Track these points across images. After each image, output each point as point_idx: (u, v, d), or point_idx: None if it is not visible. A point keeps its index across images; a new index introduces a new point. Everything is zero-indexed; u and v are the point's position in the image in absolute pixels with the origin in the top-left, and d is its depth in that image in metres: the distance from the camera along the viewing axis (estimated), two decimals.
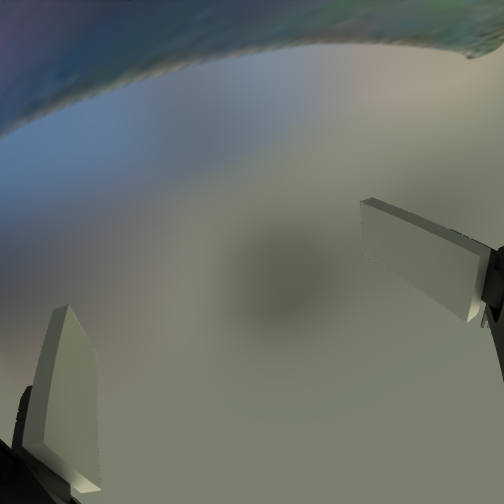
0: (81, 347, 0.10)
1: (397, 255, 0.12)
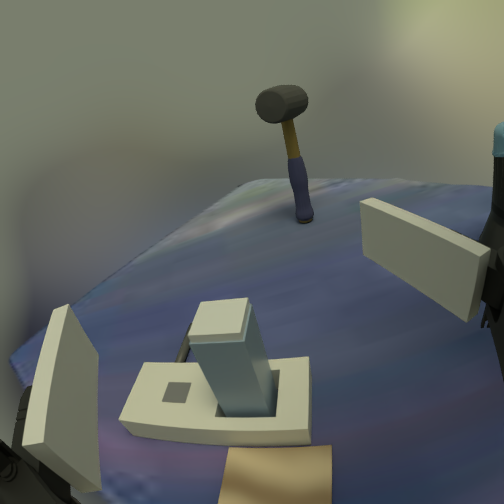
0: (81, 347, 0.10)
1: (397, 255, 0.12)
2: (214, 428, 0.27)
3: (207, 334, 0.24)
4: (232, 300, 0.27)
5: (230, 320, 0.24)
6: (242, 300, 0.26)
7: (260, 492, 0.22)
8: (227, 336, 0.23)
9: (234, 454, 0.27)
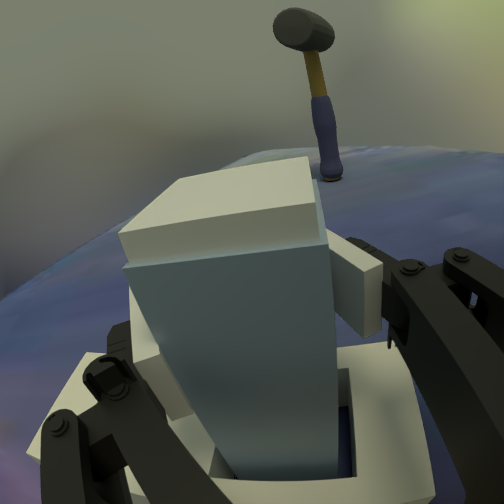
0: None
1: None
2: None
3: (185, 219, 0.06)
4: (265, 163, 0.10)
5: (267, 186, 0.07)
6: (294, 159, 0.09)
7: None
8: (261, 226, 0.06)
9: None
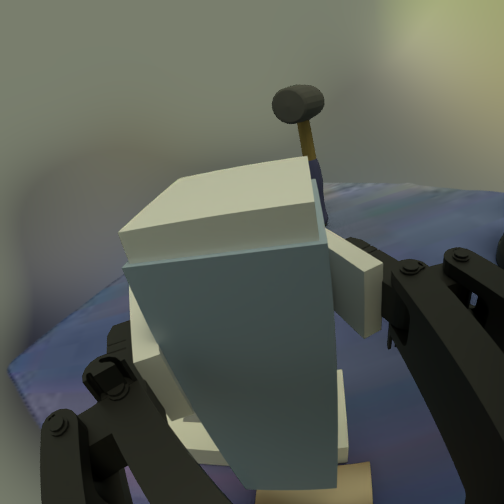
0: None
1: None
2: None
3: (184, 219, 0.06)
4: (265, 163, 0.10)
5: (267, 186, 0.07)
6: (293, 159, 0.09)
7: None
8: (260, 225, 0.06)
9: None
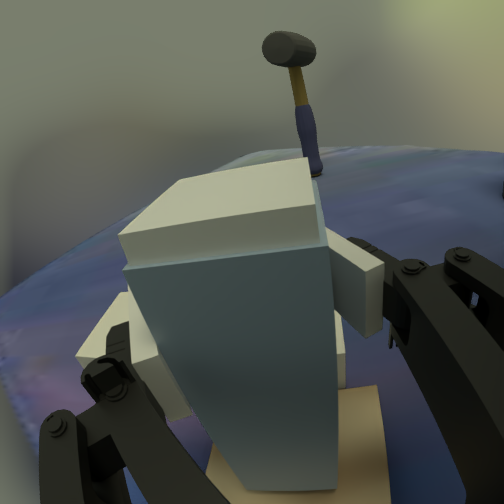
0: None
1: None
2: None
3: (185, 221, 0.06)
4: (265, 164, 0.10)
5: (267, 188, 0.07)
6: (293, 160, 0.09)
7: None
8: (261, 228, 0.06)
9: None
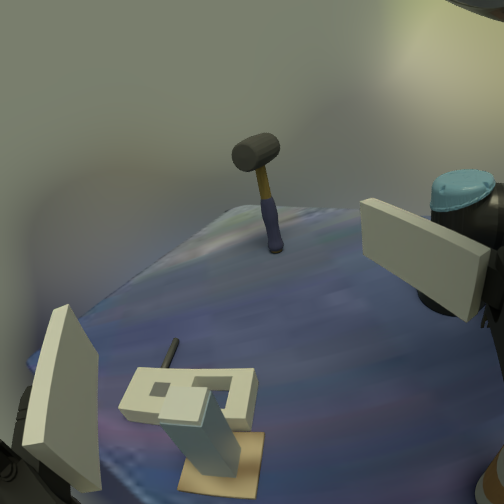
0: (81, 347, 0.10)
1: (397, 255, 0.12)
2: None
3: (173, 419, 0.26)
4: (195, 388, 0.30)
5: (191, 408, 0.27)
6: (202, 389, 0.29)
7: None
8: (188, 422, 0.26)
9: None
